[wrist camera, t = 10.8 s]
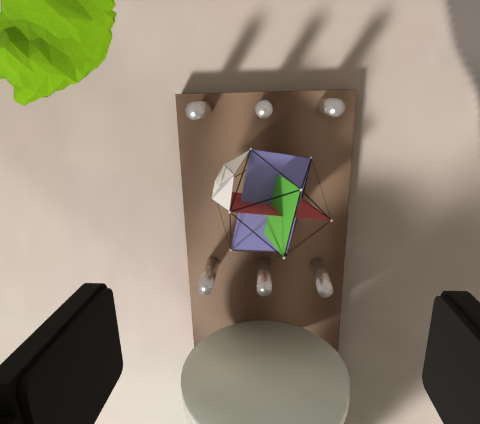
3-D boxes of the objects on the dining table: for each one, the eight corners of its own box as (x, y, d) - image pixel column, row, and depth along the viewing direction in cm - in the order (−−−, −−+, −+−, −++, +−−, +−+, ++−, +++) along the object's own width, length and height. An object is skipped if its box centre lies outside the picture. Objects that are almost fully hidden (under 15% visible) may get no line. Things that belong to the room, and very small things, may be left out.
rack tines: (332, 98, 23) (345, 97, 19) (317, 389, 30) (324, 431, 27) (197, 101, 24) (184, 101, 20) (213, 385, 31) (206, 425, 27)
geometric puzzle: (362, 166, 22) (297, 170, 16) (333, 261, 24) (266, 295, 18) (273, 141, 26) (195, 137, 20) (255, 224, 28) (179, 242, 23)
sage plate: (333, 322, 28) (372, 452, 18) (332, 334, 29) (370, 469, 18) (198, 318, 29) (159, 441, 19) (198, 331, 29) (161, 458, 19)
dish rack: (351, 90, 24) (356, 89, 23) (331, 381, 32) (334, 394, 30) (180, 94, 25) (175, 94, 24) (200, 376, 33) (197, 389, 31)
